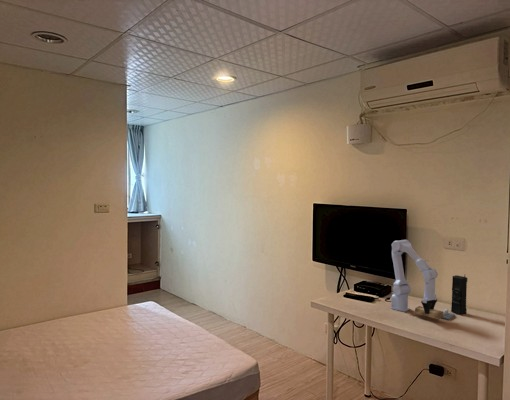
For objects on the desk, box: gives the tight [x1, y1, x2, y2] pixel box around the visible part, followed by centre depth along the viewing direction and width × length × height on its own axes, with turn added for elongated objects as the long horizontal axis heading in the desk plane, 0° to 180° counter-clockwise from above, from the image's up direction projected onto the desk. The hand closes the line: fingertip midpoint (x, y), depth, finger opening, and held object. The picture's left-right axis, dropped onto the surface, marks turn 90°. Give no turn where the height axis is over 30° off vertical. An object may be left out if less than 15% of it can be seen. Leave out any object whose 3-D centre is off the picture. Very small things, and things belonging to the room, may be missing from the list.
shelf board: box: [414, 305, 443, 320], centre depth 219 cm, size 14×6×3 cm, turn 43°
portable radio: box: [450, 274, 468, 316], centre depth 229 cm, size 8×6×25 cm
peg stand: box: [434, 308, 456, 321], centre depth 226 cm, size 18×10×4 cm, turn 44°
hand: (429, 312), depth 219 cm, fingers closed on shelf board, 5 cm apart
